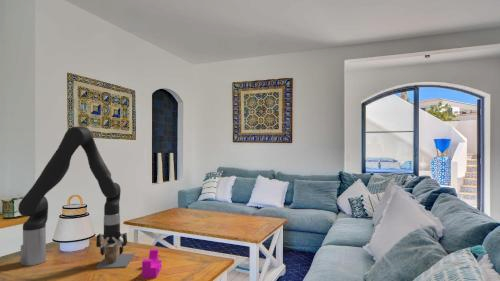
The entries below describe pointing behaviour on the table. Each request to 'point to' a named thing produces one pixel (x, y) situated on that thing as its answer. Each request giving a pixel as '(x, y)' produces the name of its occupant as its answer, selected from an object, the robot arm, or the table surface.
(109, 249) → the slab
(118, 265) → the mat
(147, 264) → the toy block
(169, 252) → the table surface
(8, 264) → the table surface
